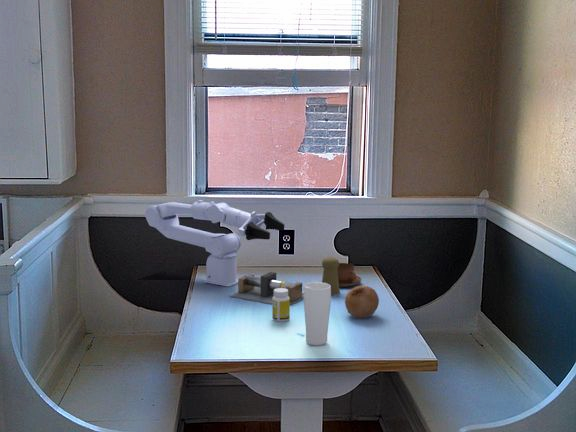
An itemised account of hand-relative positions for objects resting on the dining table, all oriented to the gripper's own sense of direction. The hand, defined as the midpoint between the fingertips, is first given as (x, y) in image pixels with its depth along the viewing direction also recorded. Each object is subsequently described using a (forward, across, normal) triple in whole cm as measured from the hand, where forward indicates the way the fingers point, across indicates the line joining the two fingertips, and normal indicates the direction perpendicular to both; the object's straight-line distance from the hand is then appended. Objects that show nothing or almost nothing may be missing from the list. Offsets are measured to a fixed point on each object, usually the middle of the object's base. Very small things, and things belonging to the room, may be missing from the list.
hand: (276, 231), depth 223 cm
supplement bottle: (+18, -23, +13) cm, 32 cm away
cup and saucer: (+15, +17, +21) cm, 31 cm away
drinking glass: (+35, -32, +8) cm, 49 cm away
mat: (+3, -8, +18) cm, 20 cm away
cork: (+17, +6, +19) cm, 26 cm away
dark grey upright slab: (+3, -8, +18) cm, 20 cm away
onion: (+35, -8, +13) cm, 38 cm away
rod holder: (+3, -8, +18) cm, 20 cm away
